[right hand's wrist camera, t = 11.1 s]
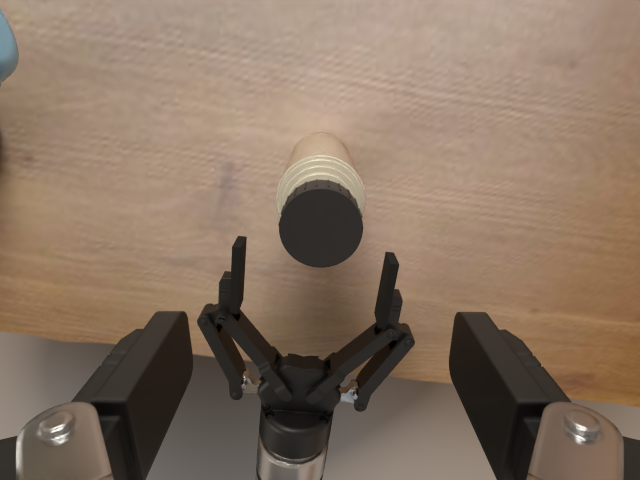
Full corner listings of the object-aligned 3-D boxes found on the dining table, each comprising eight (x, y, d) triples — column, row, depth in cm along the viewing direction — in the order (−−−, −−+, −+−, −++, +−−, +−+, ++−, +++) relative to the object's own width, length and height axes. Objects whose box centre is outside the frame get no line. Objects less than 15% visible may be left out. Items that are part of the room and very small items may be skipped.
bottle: (356, 139, 38) (388, 183, 20) (343, 197, 40) (363, 285, 22) (295, 127, 38) (273, 161, 20) (286, 187, 40) (258, 267, 22)
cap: (367, 186, 22) (372, 195, 20) (350, 259, 24) (353, 275, 22) (288, 171, 22) (285, 179, 20) (276, 246, 23) (272, 261, 21)
